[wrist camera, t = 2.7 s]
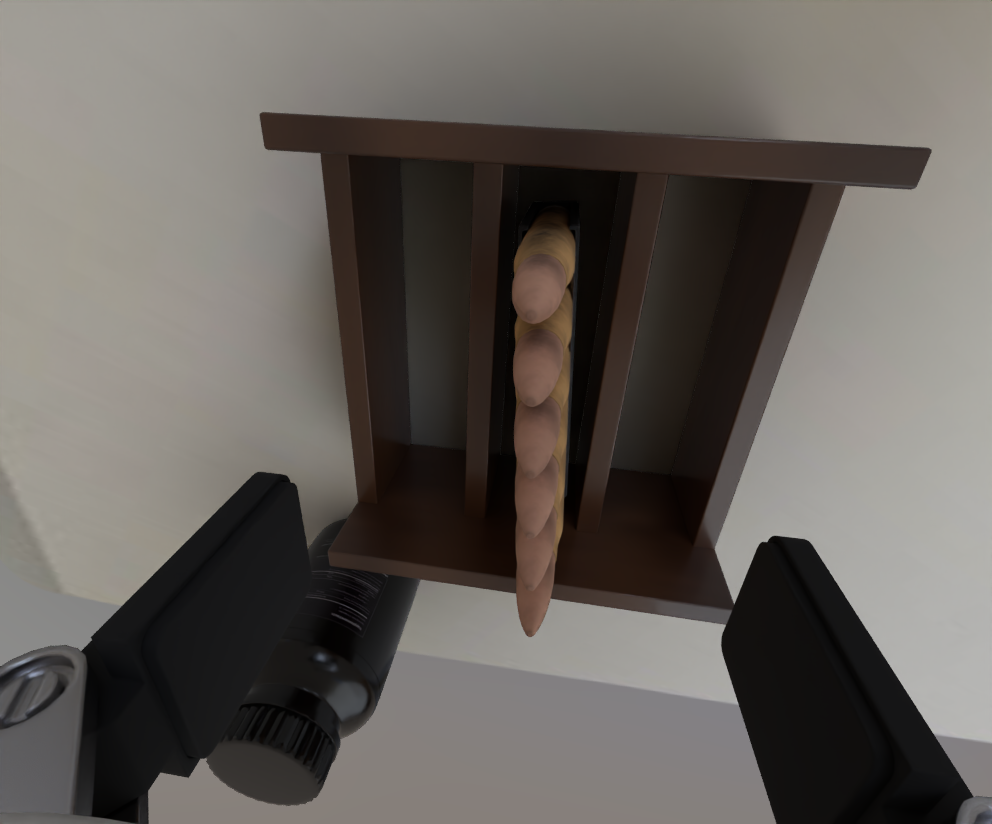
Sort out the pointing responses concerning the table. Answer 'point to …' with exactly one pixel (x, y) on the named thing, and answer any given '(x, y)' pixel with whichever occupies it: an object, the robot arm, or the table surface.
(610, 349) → the rack
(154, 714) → the robot arm
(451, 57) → the table surface
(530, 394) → the ammunition clip
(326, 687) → the supplement bottle
